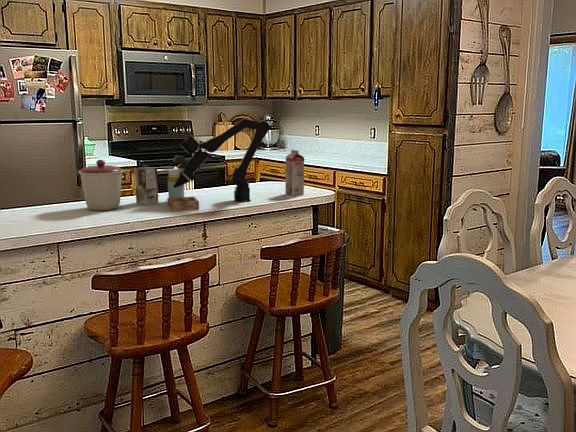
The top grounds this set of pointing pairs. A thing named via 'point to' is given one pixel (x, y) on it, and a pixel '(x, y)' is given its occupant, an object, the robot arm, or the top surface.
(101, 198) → the canister
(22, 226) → the top surface
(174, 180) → the bottle
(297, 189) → the juice carton
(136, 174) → the coffee box
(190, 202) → the caddy
